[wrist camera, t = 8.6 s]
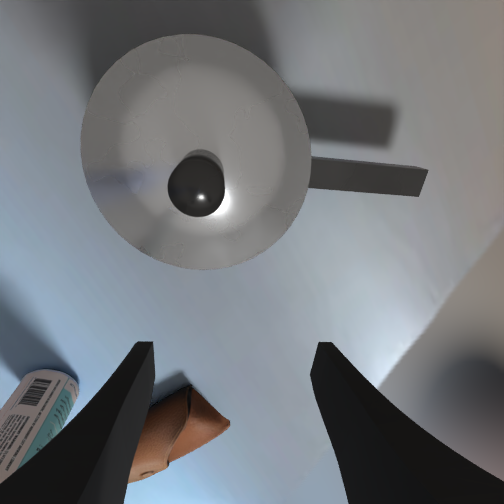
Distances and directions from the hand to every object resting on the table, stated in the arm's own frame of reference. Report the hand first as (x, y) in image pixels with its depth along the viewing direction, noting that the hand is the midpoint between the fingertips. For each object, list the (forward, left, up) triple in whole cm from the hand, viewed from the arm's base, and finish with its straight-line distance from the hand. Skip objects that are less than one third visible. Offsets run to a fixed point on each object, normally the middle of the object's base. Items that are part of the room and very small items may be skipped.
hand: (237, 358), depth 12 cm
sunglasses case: (-8, -23, -11) cm, 26 cm away
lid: (-2, +7, -6) cm, 10 cm away
